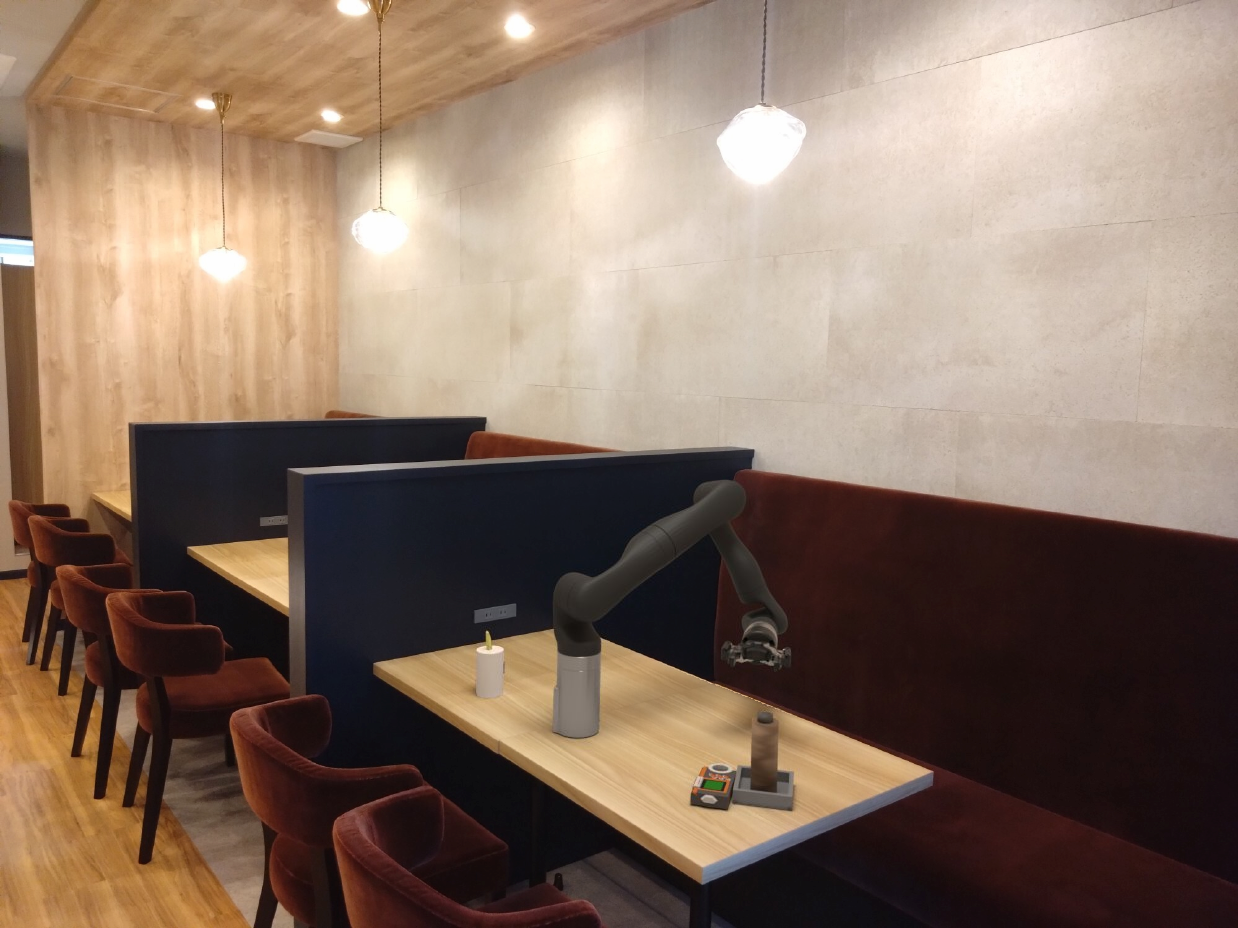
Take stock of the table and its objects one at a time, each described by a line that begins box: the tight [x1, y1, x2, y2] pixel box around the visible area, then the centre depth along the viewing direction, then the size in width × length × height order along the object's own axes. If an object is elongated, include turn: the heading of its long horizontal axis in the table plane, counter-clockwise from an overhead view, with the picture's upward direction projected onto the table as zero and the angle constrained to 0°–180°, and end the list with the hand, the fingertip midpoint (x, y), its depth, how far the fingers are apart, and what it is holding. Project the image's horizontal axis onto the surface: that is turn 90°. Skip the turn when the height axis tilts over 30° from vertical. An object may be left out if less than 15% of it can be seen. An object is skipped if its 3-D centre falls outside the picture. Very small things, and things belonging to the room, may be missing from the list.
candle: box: [475, 630, 506, 699], centre depth 210 cm, size 6×6×15 cm
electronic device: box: [689, 762, 737, 810], centre depth 166 cm, size 7×3×15 cm
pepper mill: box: [750, 711, 780, 793], centre depth 164 cm, size 5×5×14 cm
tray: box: [732, 764, 795, 811], centre depth 165 cm, size 10×10×2 cm
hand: (753, 664), depth 182 cm, fingers open, 8 cm apart
